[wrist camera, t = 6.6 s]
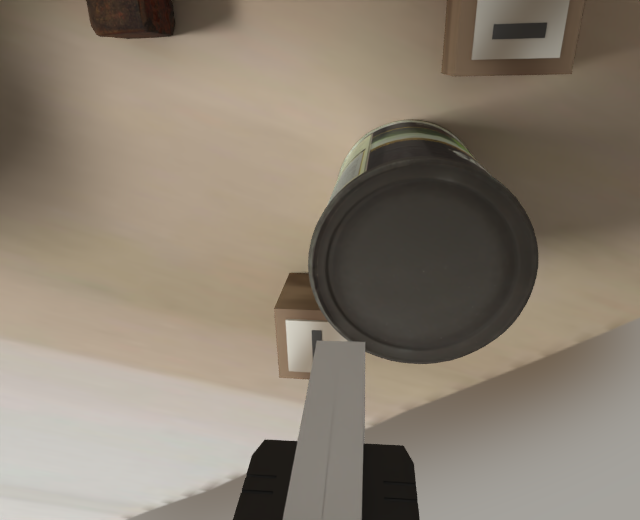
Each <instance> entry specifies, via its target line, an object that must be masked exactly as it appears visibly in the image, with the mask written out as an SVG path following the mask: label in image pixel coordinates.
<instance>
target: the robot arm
mask: <svg viewBox="0 0 640 520" xmlns="http://www.w3.org/2000/svg"><path fill="white" fill-rule="evenodd" d="M364 431H365V342H347V341H317V342H316V348H315V353H314V358H313V363H312V369H311V374H310V379H309V384H308V390H307V395H306V400H305V405H304V410H303V416H302V421H301V426H300V431H299V437H298V441H282V440H264V441H263V443H262V444H261V445H260V446H259V447H258V449H257V450H256V451H255V452H254V454H253V455H252V458H251V461H250V464H249V468H248V471H247V477H246V478H245V481H244V485H243V488H242V493H241V495H240V498H239V502H238V505H237V508H236V511H235V515H234V518H233V520H419V510H418V503H417V491H416V482H415V472H414V464H413V461H412V460H411V458H410V456H409V454H408V453H407V451H406V449H405V448H404V446H400V445H380V444H364Z"/></svg>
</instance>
